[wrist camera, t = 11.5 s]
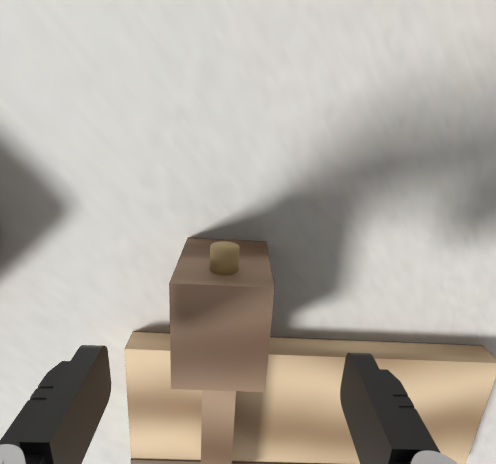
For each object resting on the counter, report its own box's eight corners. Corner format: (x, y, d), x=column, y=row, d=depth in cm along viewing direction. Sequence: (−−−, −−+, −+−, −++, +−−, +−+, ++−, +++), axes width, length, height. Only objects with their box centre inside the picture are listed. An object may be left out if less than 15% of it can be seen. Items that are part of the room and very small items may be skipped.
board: (132, 331, 20) (123, 350, 19) (483, 345, 21) (502, 364, 19) (138, 452, 23) (131, 476, 21) (445, 460, 24) (459, 484, 22)
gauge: (187, 218, 18) (168, 258, 13) (267, 222, 18) (276, 263, 13) (187, 443, 23) (173, 531, 18) (249, 445, 23) (252, 532, 18)
